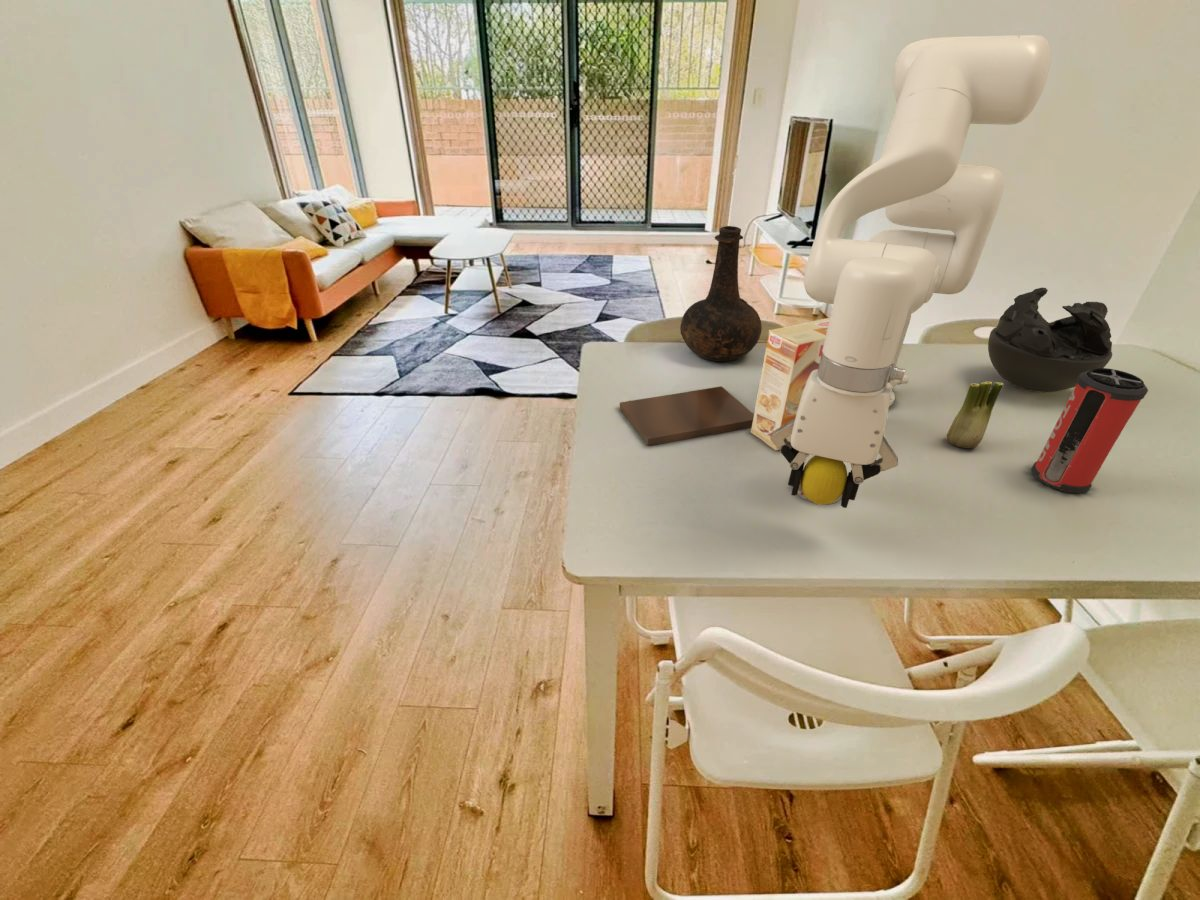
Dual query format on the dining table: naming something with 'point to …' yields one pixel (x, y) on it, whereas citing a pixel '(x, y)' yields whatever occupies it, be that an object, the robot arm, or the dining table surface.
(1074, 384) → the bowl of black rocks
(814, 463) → the lemon
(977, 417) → the fennel bulb
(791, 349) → the coffeecake box
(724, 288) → the glass bottle
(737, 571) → the dining table surface
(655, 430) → the cutting board
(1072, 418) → the speaker
